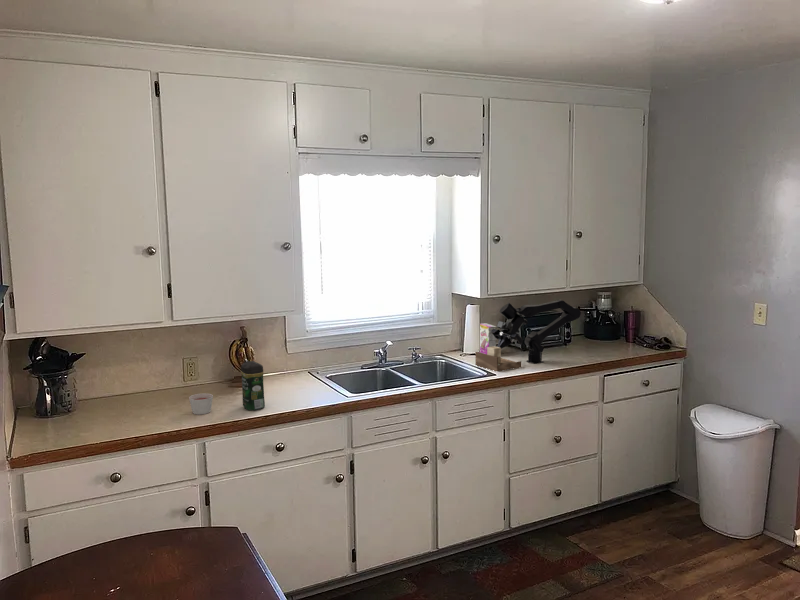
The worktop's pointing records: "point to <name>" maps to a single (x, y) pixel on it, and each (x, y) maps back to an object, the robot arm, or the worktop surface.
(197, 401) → the candle
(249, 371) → the coffee jar
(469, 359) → the worktop surface
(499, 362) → the maple block
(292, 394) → the worktop surface
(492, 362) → the trap box
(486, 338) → the candy bar box
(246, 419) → the worktop surface
